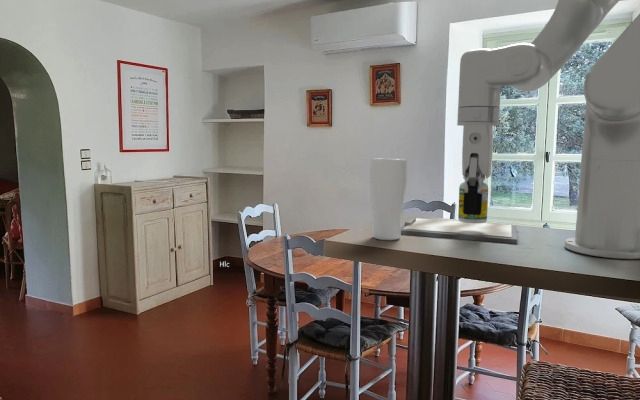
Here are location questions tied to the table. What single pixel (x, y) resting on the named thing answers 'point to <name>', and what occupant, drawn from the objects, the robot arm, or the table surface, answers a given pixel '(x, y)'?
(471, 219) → the supplement bottle
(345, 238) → the table surface
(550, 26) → the robot arm
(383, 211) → the drinking glass
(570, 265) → the table surface
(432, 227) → the notepad
